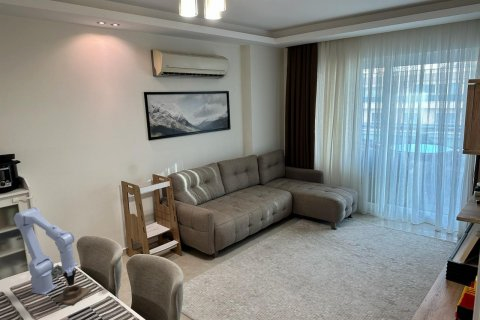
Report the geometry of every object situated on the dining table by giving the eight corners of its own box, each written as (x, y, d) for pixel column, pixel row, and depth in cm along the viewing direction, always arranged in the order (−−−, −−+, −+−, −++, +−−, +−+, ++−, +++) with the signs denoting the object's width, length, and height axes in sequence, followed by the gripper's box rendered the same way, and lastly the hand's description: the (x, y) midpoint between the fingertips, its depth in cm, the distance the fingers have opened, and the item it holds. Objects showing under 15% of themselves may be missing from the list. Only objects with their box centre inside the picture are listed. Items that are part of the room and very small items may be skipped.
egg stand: (53, 301, 158) (52, 295, 157) (72, 287, 169) (71, 281, 168) (73, 305, 154) (72, 299, 154) (91, 291, 166) (90, 284, 165)
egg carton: (48, 282, 175) (47, 275, 175) (40, 278, 179) (39, 272, 178) (67, 272, 185) (66, 266, 184) (59, 269, 188) (58, 263, 187)
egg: (64, 287, 159) (62, 278, 158) (71, 281, 163) (70, 273, 162) (71, 288, 158) (70, 280, 157) (78, 283, 162) (77, 275, 161)
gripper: (77, 261, 153) (81, 286, 156) (75, 249, 166) (78, 273, 168) (60, 265, 150) (64, 291, 153) (59, 253, 162) (63, 277, 165)
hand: (71, 282), depth 160 cm, fingers closed on egg, 5 cm apart
